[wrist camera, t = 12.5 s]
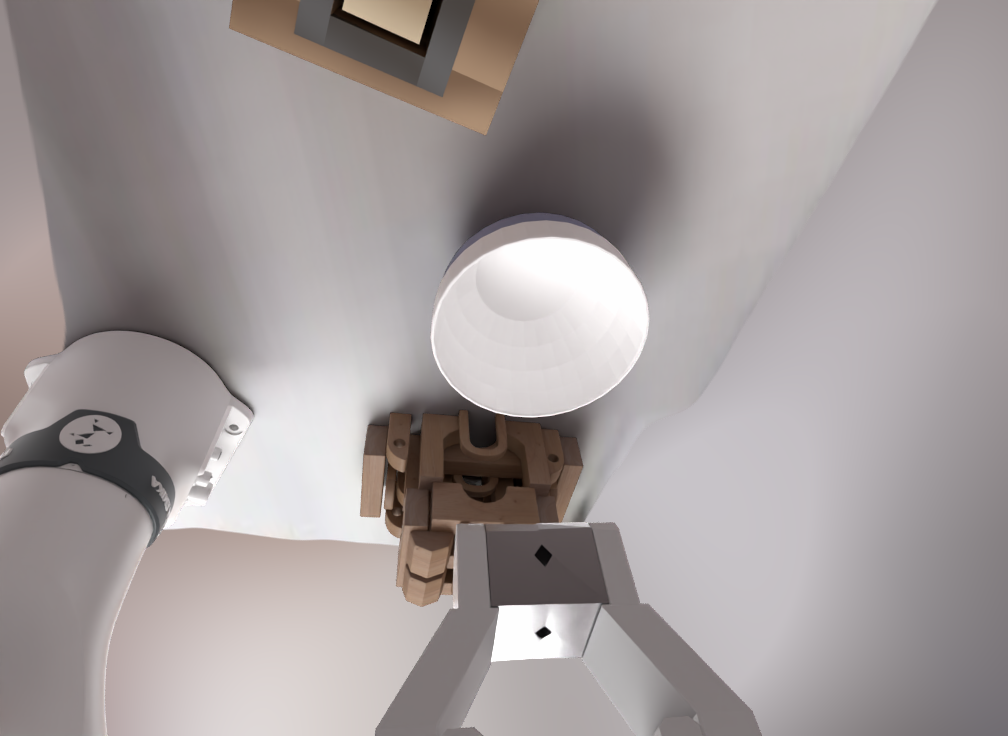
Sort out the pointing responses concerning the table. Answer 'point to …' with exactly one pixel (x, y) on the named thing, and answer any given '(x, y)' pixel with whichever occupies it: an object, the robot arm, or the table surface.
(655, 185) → the table surface
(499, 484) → the wooden puzzle
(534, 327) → the bowl
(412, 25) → the peg
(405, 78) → the socket block
